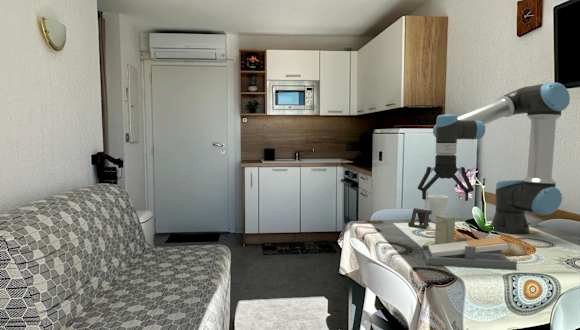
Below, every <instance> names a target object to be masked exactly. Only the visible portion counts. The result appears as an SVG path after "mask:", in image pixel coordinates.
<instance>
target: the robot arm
mask: <svg viewBox="0 0 580 330" xmlns="http://www.w3.org/2000/svg"><path fill="white" fill-rule="evenodd" d="M570 101H571V97H570V93H569V90H568V89H567V88H566V87H565V86H564V85H563V84H562V83H559V82H546V83H545V82H544V83H541V84H534V85H531V86H523V87H521V88H518V89H516V90H513V91H511V92H508V93H506V94H504V95H502V96H500V97H498V98H497V99H496V100H495V101H493V102H491V103H488V104H486V105H484V106H480V107H479V108H478V107H477V108H476V109H473V110H471V111H469V112H467V113H464V114H461V115H459V116H458V115H457V114H452V113H451V114H439V115H438V116H437V117H436V122H435V123H436V124H435V125H434V126H433V128H432V134H433V136H434V137H435V154H436V155H435V157H434V158H435V159H434V160H435V162H434V163H435V164H434V167H432V166H426V171H425V173H424V175H423V176H422V179H421V180H420V182H419V184H418V185H417V190H419V191H421V198H422V200H423V201H424V209H425V210H429V209H428V208H429V201H428V196H429V192H428V190H429V189H430V188H431V186H433V184H434V183H435V182H437V180H439V178H440V179H452V180H453V181H454V182H455V184H457V185H458V187H460V189H462V192H461V201H460V203H461V204H460V206H461V208H460V209H461V210H462V211H465V210H466V202H468V201H469V194H470V192H473V191H475V190H474V187H473V185H472V183H471V182H470V179H469V177H468V175H467V174H466V168H465V167H464V166H460V167H457V156H456V154H457V144H458V140H471V141H472V140H480V139H482V138H483V137H484V136H485V133H486V124H490V123H491V122H493V121H496V120H498V119H501V118H503V117H504V118H509V117H512V116H515V115H521V114H522V115H524V114H526V115H527V118H528V119H529V120H530V133H529V145H528V161H527V172H526V177H525V178H524V179H518V180H499V181H498V182H496V187H495V212H494V216H493V218H492V221H491V223H490V226H491V225H493V227H494V230H493V231H496V232H499V233H504V234H511V235H512V234H513V235H514V234H516V235H521V234H522V235H523V234H524V235H525V234H529V233H530V226H529V223H528V219H527V217H526V212H529V213H534V214H537V215H538V214H539V215H545V216H547V215H551V214H553V213H555V212H556V211H557V210H558V209H559V208H560V206H561V204H562V202H563V201H562V200H563V195H562V193H561V190H560V189H558V188H557V187H556V186H557V185H556V181H555V180H554V179H553V164H554V152H555V151H554V150H555V139H556V127H557V126H556V124H557V120H558V119H559V118H560V117H561V116H562V111H565V110H566V109H567V108H568V106H569V105H570ZM433 171H434V173H435V175H433V177H432V178H431V179H430V180H429V181H428V182H427V180H428V178H429V176H430V174H431V173H433ZM457 172H458V173H460V175H461V176H462V179H463V181H464V183H465V185H466V186H465V185H464V184H463V183H462V181H461V180H460V179H459V178H458V177H457V176H456V173H457ZM426 182H427V183H426ZM425 183H426V184H425Z"/></svg>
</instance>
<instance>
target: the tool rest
mask: <svg viewBox="0 0 580 330" xmlns="http://www.w3.org/2000/svg"><path fill="white" fill-rule="evenodd" d="M506 243H507V244H508V249H503V250H502V254H503V255H504V256H525V255H527V251H528V249H527V247H525V245H524V246H523V245H522V244H521V245H520V244H517V243H511V242H506Z"/></svg>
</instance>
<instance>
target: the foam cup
mask: <svg viewBox="0 0 580 330" xmlns="http://www.w3.org/2000/svg"><path fill="white" fill-rule="evenodd" d="M448 199H449V196H447V195H442V194H441V195H440V194H430V195H429V194H428V208H429V209H428V210H431V211H432V214H431V215H429V219H430V222H431V223H435V224H436V215H443V214H444V215H446V211H447V205H448V201H449V200H448Z"/></svg>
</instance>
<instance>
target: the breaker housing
mask: <svg viewBox="0 0 580 330" xmlns="http://www.w3.org/2000/svg"><path fill="white" fill-rule="evenodd" d="M462 241H468V238H467V237H459V236H458V237H457V238H456V242H462ZM421 248H422V249H421V252H422V254H423V256H424V258H425V260H426V262H427V264H428V265H432V266H447V267H449V266H450V267H464V268H465V267H467V268H483V269H484V268H485V269H502V270H503V269H505V270H517V261H515V260H510V259H509V258H508V257H507V256H506V255H505V254H502V250H494V251H485V252H476V253H475V251H476V247H475V246H465V254H458V255H449V256H441V257H432V255H431V253H430V251H429V249H428V244H427V245H422V247H421Z"/></svg>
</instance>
